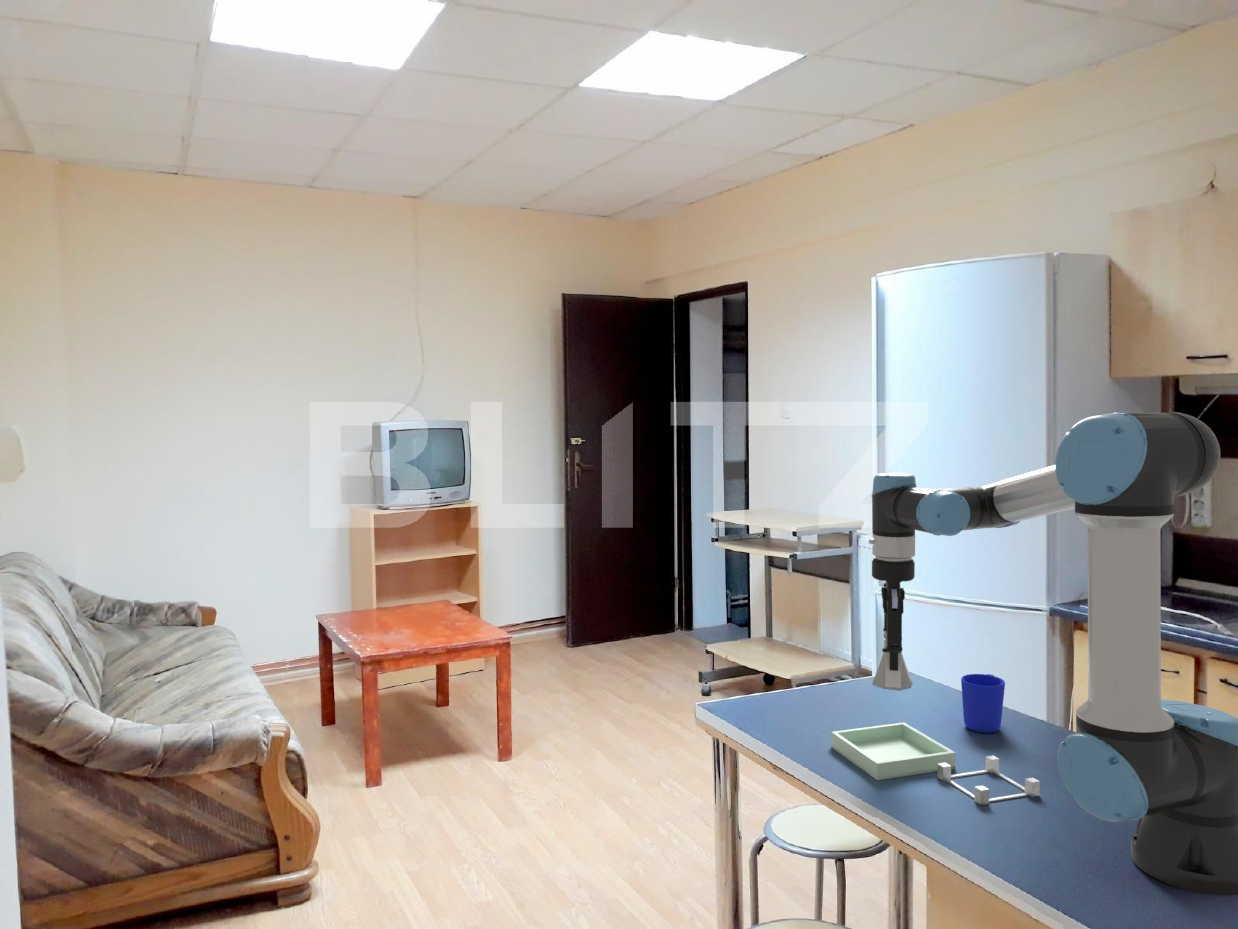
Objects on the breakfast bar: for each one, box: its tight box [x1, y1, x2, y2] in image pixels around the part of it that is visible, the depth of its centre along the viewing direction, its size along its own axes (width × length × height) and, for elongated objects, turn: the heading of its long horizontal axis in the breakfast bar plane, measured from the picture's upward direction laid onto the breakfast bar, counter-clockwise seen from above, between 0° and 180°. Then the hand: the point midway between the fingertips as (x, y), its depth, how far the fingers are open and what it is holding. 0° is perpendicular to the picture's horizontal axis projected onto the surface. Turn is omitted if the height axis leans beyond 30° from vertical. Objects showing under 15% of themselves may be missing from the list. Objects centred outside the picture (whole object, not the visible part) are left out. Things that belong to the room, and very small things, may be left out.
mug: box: [960, 673, 1006, 734], centre depth 186 cm, size 8×12×10 cm
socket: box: [937, 755, 1041, 806], centre depth 157 cm, size 12×12×2 cm
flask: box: [871, 631, 914, 692], centre depth 169 cm, size 7×7×10 cm
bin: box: [830, 722, 956, 781], centre depth 170 cm, size 16×16×3 cm
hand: (892, 680), depth 169 cm, fingers closed on flask, 7 cm apart
